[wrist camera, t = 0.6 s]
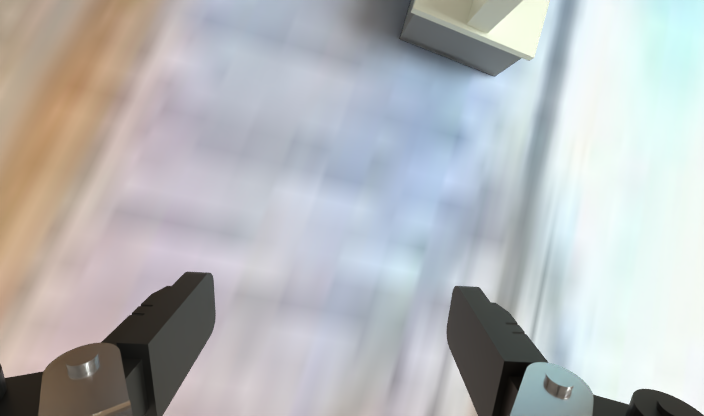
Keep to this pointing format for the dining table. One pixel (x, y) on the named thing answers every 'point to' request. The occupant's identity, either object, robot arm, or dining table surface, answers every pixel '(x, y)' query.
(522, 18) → the lid
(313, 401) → the dining table surface
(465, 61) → the tub
